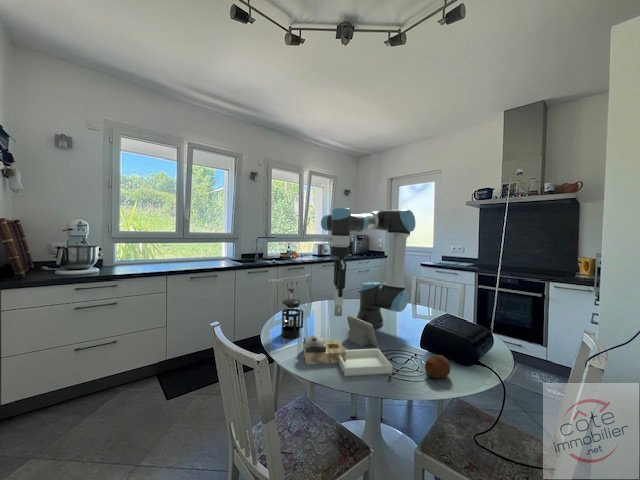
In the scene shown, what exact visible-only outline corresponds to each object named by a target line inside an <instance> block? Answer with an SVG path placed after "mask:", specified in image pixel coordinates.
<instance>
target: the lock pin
mask: <svg viewBox="0 0 640 480" xmlns="http://www.w3.org/2000/svg"><path fill="white" fill-rule="evenodd" d="M335 287H337V286H335V285H334V294H335V302H334V311H333V312H334V316H335V317H342V316H343V305H336V288H335Z"/></svg>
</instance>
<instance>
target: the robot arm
mask: <svg viewBox="0 0 640 480" xmlns="http://www.w3.org/2000/svg"><path fill="white" fill-rule="evenodd" d="M351 212H352V211H351V209H350V208H349V207H335V208H333V209H332V212H331V214H328V215H324V216H322V217H321V220H320V227H321V228H322V230H324V231H327V232H331V237H330V238H329V241H331V242H330V245H332V246H330V255H331V257H335V259H334V260H333V284H334V289H335V288H336V305H342V306H343V305H344V289H345V288H346V275H347V262H346V260H345V257H349V256H350V247H349V246H350V245H351V233H353V232H354V233H362V232H363V233H364V232H365V231H366V230H367V229H368V230H378V231H385V232H387V235H388V236H389V244H388V255H387V256H388V257H387V264H386V265H387V266H386V277H385V281H384V282H379V281H369V282H363V283H361V285H360V290H359V309H358V312H357V316H356V317H355V318H358V319H360V320H363V321H365V322H368V323H370V324H372V325H373V329H374V328H381V327H382V326H383V325H384V318H383V315H382V312H381V309H384V310H387V311H392V312H395V313H396V312H397V313H402V312H403V311H404V310H405V309H406V307H407V306H408V303H409V301H410V300H409V299H410V294H409V292H408V291H407V290H406V285H405V284H404V282H403V281H404V271H405V262H406V261H405V260H406V250H407V240H408V239H407V238H409V237H410V236H411V233H412V232H413V231H414V230H415V228H416V218H415V215H414V212H413V211H412V210H411V209H406V208H398V209H380V210H376V211H370V212H367V213H360V214H359V213H358V214H356V213H355V214H354V213H351ZM335 286H337V287H335ZM333 297H334V299H333V302H334V303H335V293H334V296H333Z"/></svg>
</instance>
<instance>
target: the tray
mask: <svg viewBox="0 0 640 480" xmlns="http://www.w3.org/2000/svg"><path fill="white" fill-rule="evenodd" d="M345 351H346V361H344V360H343V358H342V357H341V355H339V363H338V365H339V367H340V368H341V370H342V371H341V372H342V373H343V375H344V377H346V378H347V377H348V378H349V377H359V376H360V377H362V376H375V375H376V376H377V375H389V374H390V375H391V374H393V367H394V366H393V365H392V363H391V361H389V360H388V359H387V357H386V356H385V355H384V354H383V353H382V351H381V350H380V348H364V349H361V348H360V349H345Z"/></svg>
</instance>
